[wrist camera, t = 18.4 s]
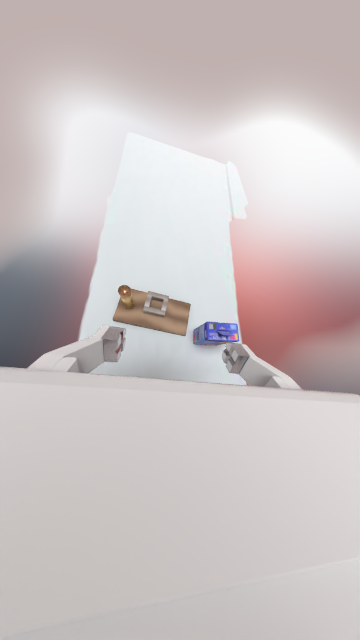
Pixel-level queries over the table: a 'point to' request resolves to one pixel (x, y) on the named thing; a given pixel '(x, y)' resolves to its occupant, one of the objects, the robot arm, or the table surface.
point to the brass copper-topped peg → (126, 296)
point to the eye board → (154, 312)
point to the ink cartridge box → (216, 333)
